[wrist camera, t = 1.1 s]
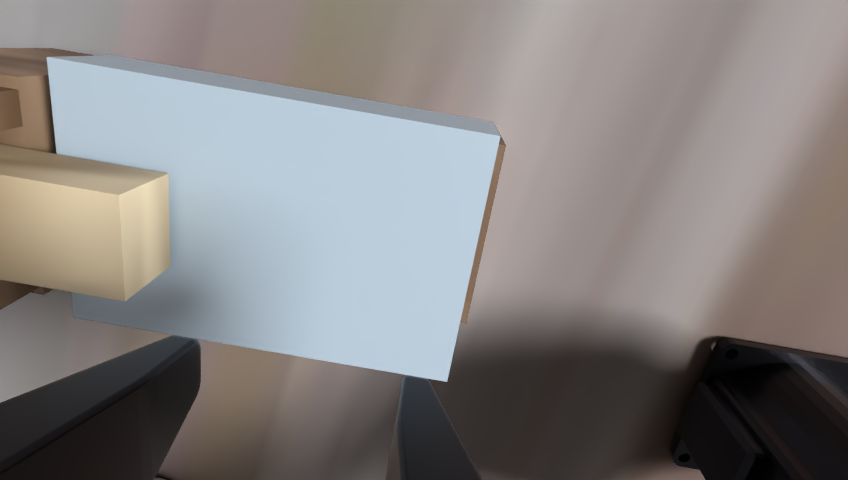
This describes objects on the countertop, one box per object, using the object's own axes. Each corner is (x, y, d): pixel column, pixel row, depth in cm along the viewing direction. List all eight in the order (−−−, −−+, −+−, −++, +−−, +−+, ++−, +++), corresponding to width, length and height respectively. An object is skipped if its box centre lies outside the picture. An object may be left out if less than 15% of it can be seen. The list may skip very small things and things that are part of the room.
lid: (493, 122, 14) (500, 136, 12) (448, 336, 17) (447, 381, 15) (112, 55, 14) (46, 56, 12) (125, 280, 17) (73, 317, 15)
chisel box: (495, 125, 18) (526, 184, 10) (464, 273, 21) (470, 415, 13) (53, 48, 18) (-255, 48, 10) (68, 204, 20) (-178, 303, 12)
